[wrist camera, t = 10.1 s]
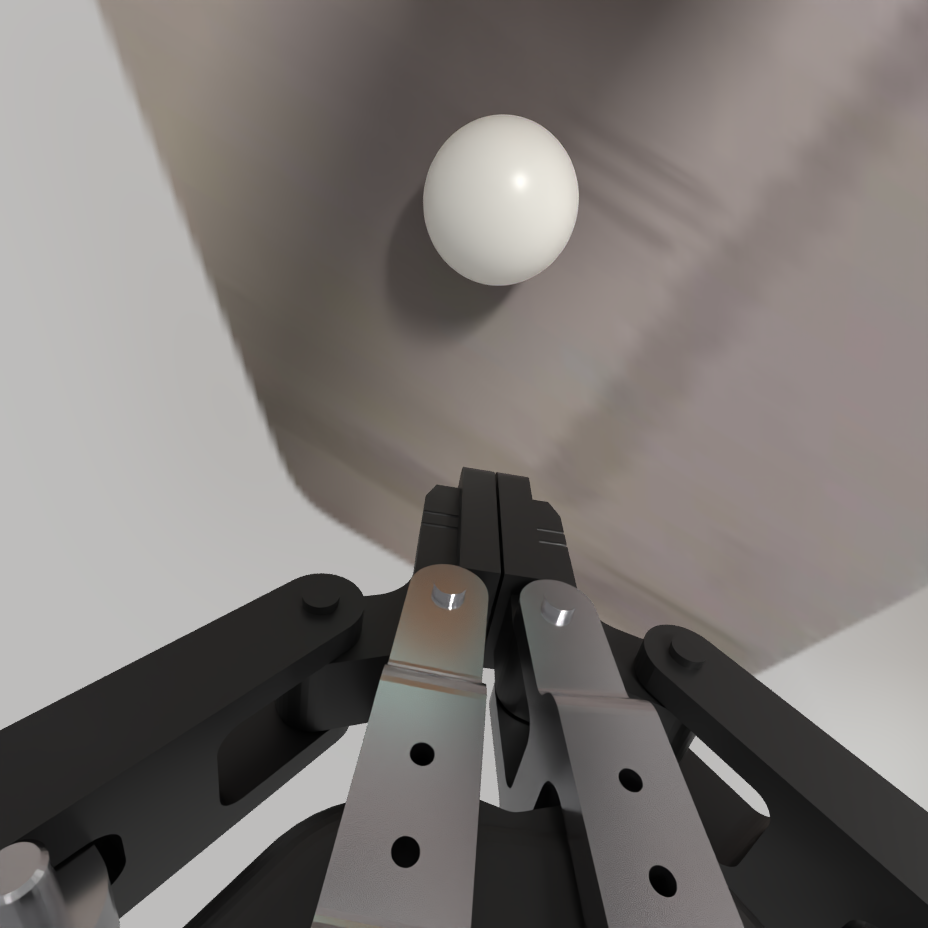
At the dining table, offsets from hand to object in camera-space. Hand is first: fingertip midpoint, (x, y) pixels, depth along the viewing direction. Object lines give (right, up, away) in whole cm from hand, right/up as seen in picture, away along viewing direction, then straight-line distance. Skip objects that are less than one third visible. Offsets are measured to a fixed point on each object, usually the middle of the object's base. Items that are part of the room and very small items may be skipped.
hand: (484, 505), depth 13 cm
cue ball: (+1, +10, +7) cm, 13 cm away
